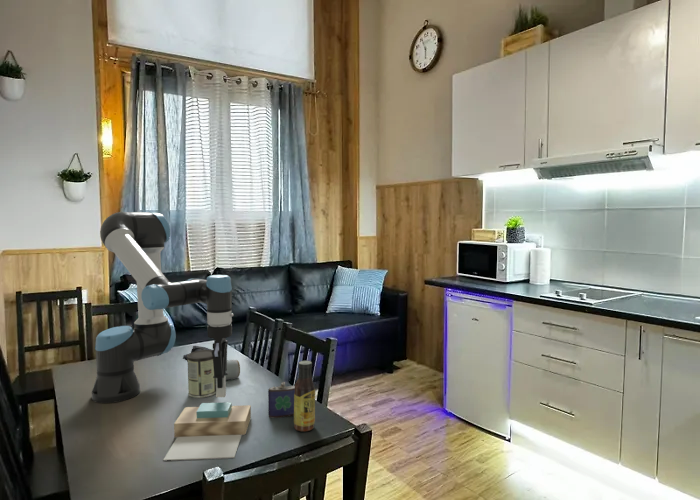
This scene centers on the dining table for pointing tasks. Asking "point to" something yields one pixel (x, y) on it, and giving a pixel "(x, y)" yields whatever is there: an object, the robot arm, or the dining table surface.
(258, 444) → the dining table surface
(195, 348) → the dark slate chunk
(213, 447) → the mat
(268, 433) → the dining table surface
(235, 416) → the tan flat rectangular slab
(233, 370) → the ceramic mug
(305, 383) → the sauce bottle
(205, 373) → the coffee can
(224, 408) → the teal rectangular block
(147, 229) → the robot arm
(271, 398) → the flask
